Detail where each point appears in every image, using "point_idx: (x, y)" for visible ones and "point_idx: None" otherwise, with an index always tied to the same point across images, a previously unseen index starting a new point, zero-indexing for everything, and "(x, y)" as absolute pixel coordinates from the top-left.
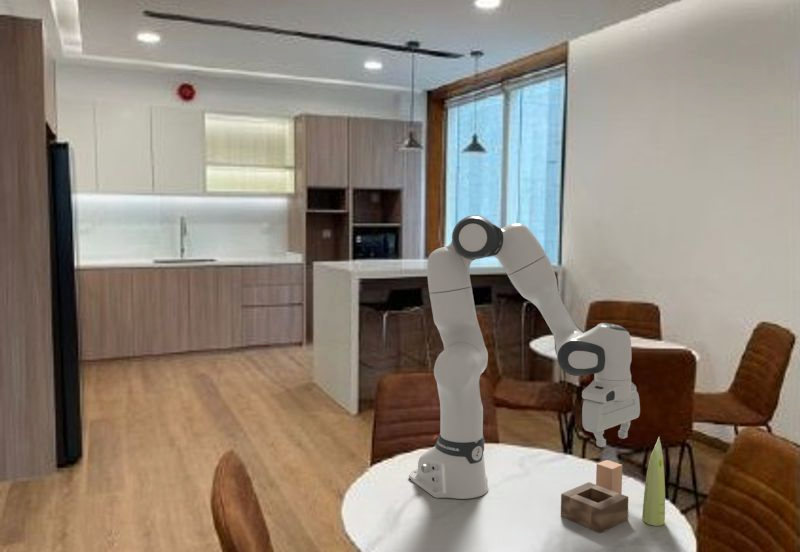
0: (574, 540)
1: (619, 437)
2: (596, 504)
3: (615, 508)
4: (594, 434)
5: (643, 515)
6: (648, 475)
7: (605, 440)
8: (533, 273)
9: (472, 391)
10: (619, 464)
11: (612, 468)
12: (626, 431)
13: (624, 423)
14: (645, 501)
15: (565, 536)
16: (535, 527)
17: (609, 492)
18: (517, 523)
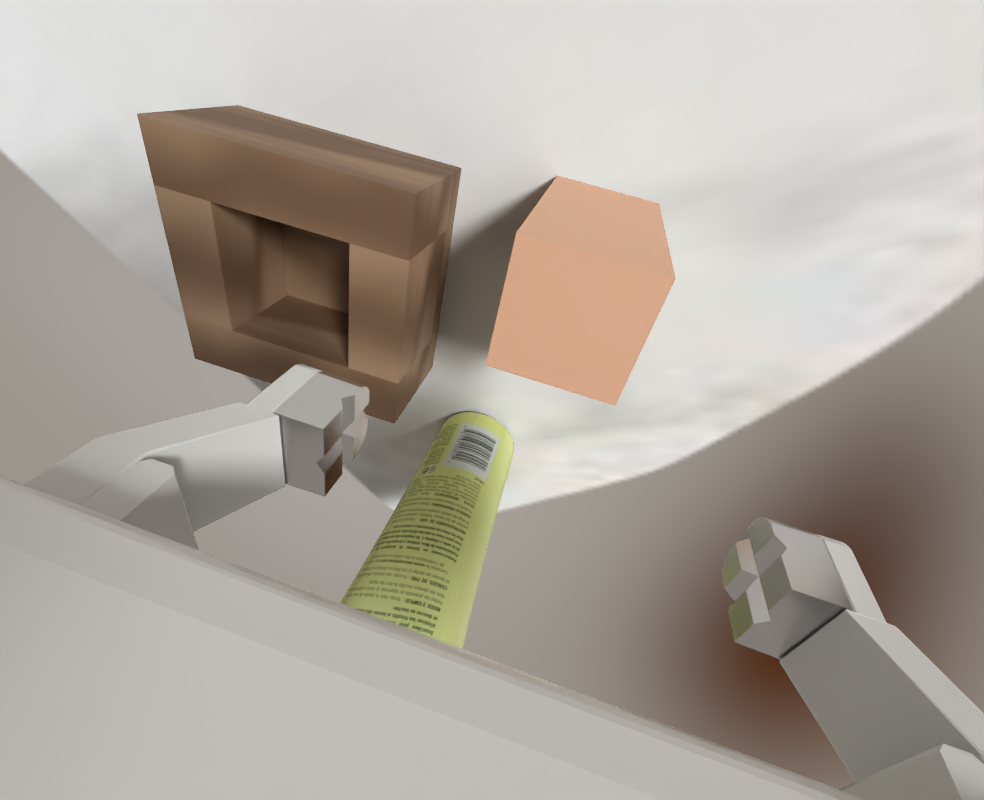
0: (148, 254)
1: (755, 524)
2: (213, 329)
3: None
4: (135, 434)
5: (444, 429)
6: (350, 587)
7: (320, 484)
8: None
9: None
10: (612, 387)
11: (497, 364)
12: (788, 663)
13: (870, 786)
14: (414, 476)
15: (136, 214)
16: (62, 56)
17: (371, 344)
18: None
